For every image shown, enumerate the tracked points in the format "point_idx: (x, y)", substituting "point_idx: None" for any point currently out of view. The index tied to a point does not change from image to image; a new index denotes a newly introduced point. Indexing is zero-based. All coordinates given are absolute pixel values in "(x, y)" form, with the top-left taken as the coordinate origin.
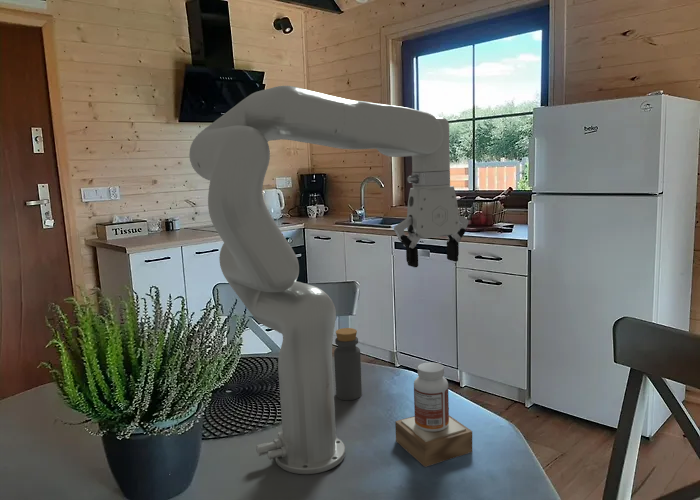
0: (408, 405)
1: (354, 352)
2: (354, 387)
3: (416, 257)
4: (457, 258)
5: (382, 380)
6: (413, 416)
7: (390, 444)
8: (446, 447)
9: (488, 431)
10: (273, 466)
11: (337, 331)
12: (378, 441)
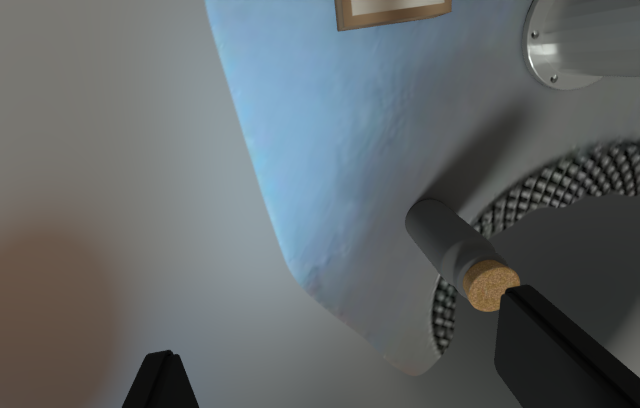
0: (350, 145)
1: (465, 242)
2: (434, 207)
3: (575, 333)
4: (147, 366)
5: (350, 255)
6: (409, 17)
7: None
8: None
9: None
10: None
11: None
12: (459, 30)
